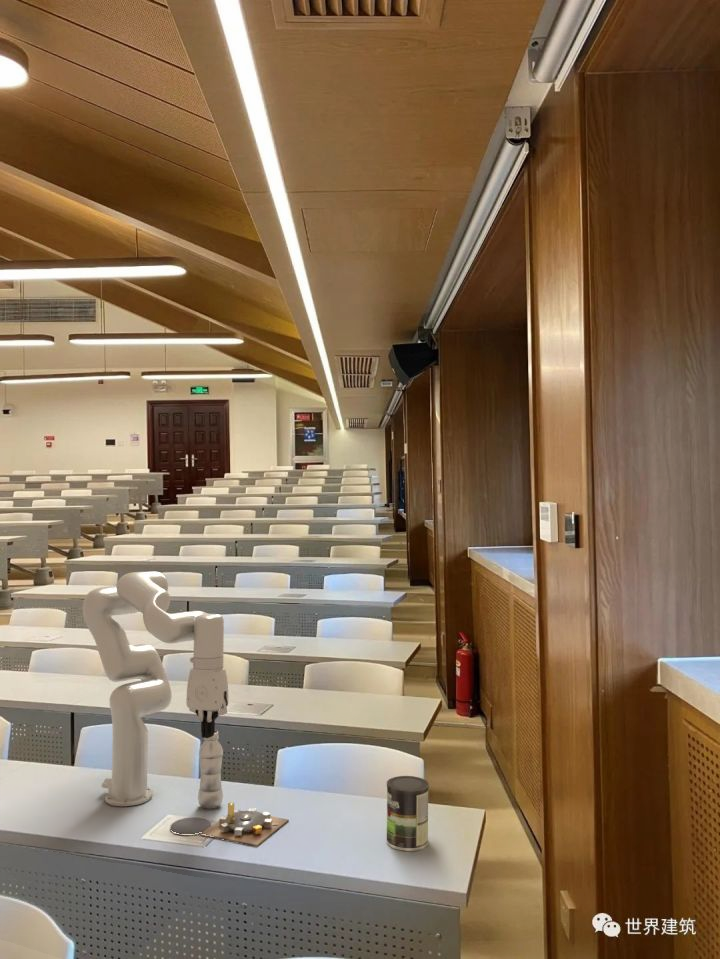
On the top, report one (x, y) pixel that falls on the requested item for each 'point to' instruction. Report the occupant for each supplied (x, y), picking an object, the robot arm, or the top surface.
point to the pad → (190, 825)
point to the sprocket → (244, 821)
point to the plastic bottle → (210, 773)
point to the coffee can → (407, 813)
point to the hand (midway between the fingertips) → (207, 736)
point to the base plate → (248, 837)
